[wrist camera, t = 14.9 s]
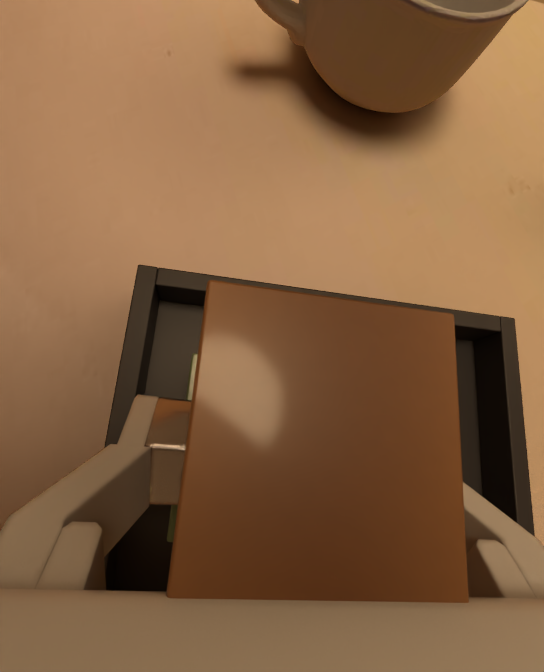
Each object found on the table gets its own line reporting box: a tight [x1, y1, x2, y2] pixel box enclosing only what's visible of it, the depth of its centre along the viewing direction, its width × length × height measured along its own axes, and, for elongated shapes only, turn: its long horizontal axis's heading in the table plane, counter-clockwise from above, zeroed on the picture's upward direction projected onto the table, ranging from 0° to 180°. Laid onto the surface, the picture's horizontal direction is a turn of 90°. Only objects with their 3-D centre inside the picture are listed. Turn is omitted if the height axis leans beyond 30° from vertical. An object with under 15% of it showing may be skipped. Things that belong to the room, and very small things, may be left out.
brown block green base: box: [166, 280, 469, 603], centre depth 10 cm, size 5×6×10 cm
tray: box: [104, 265, 535, 592], centre depth 17 cm, size 18×14×3 cm
